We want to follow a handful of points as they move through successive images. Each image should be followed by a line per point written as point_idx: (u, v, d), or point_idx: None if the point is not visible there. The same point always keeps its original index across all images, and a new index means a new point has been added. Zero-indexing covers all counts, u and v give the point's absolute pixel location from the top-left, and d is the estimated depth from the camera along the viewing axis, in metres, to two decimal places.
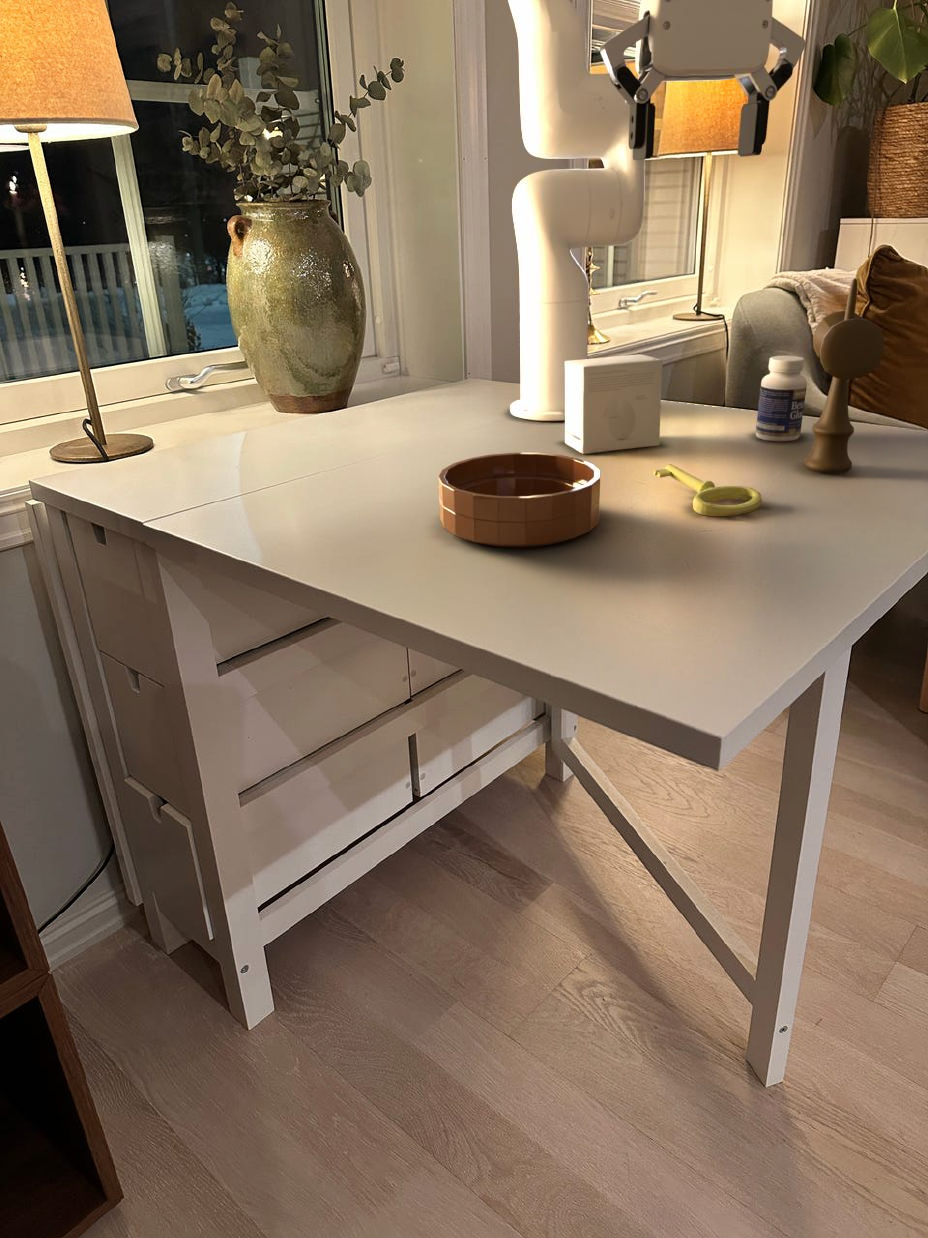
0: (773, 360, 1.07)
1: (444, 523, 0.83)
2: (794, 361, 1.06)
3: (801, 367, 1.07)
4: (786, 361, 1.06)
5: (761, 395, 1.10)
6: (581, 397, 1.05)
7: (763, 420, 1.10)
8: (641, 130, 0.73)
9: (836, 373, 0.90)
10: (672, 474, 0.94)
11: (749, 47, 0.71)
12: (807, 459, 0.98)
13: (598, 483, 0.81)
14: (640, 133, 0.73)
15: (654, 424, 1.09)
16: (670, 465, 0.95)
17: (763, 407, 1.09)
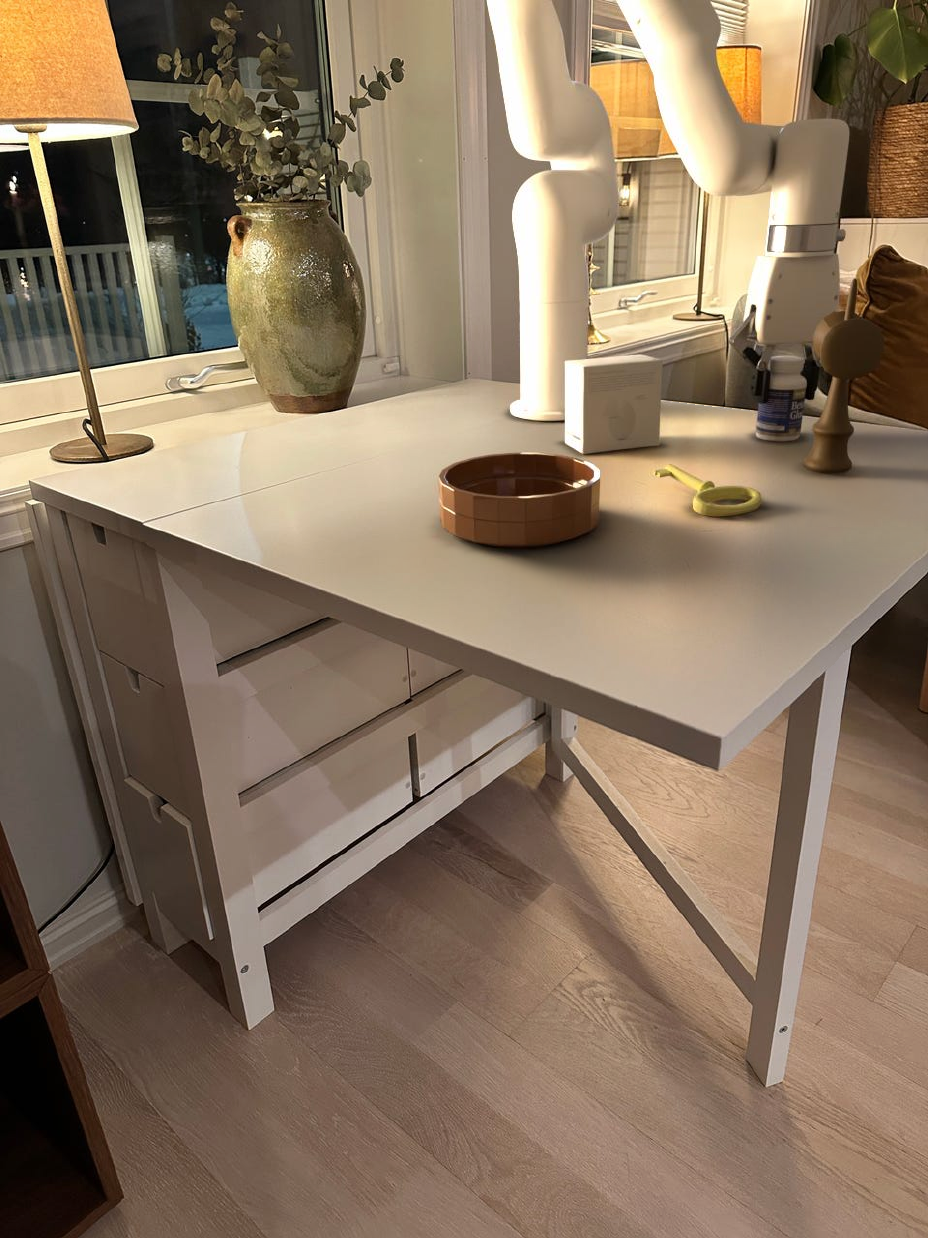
0: (773, 360, 1.07)
1: (444, 523, 0.83)
2: (794, 361, 1.06)
3: (801, 367, 1.07)
4: (786, 361, 1.06)
5: None
6: (581, 397, 1.05)
7: (763, 420, 1.10)
8: (760, 385, 1.08)
9: (836, 373, 0.90)
10: (672, 474, 0.94)
11: None
12: (807, 459, 0.98)
13: (598, 483, 0.81)
14: (759, 387, 1.08)
15: (654, 424, 1.09)
16: (670, 465, 0.95)
17: (763, 407, 1.09)
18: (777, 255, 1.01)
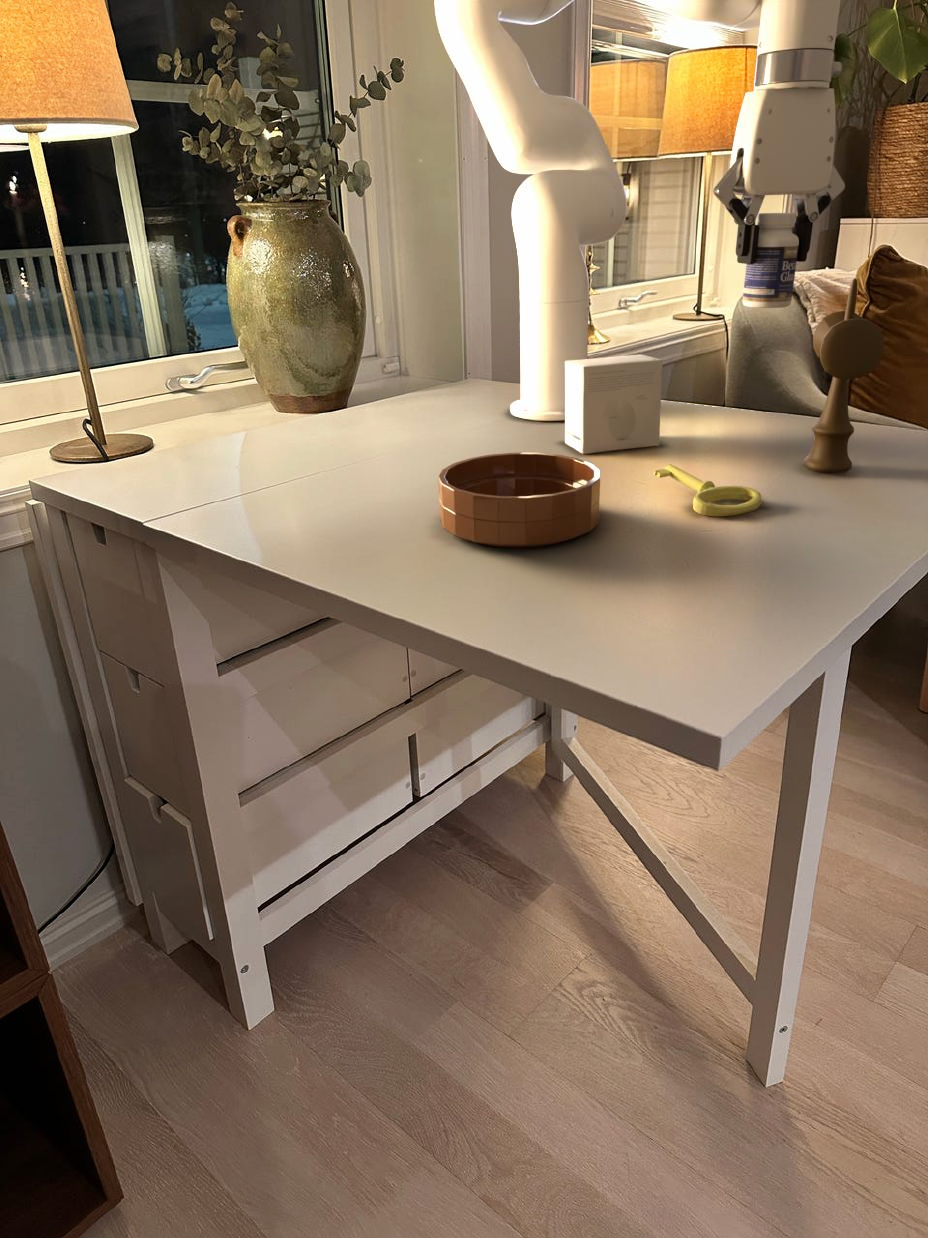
0: (762, 214, 0.97)
1: (444, 523, 0.83)
2: (785, 214, 0.96)
3: (793, 222, 0.97)
4: (776, 214, 0.96)
5: None
6: (581, 397, 1.05)
7: (751, 284, 1.00)
8: (747, 243, 0.98)
9: (836, 373, 0.90)
10: (672, 474, 0.94)
11: (816, 175, 0.95)
12: (807, 459, 0.98)
13: (598, 483, 0.81)
14: (746, 245, 0.98)
15: (654, 424, 1.09)
16: (670, 465, 0.95)
17: (751, 269, 0.99)
18: (767, 87, 0.91)
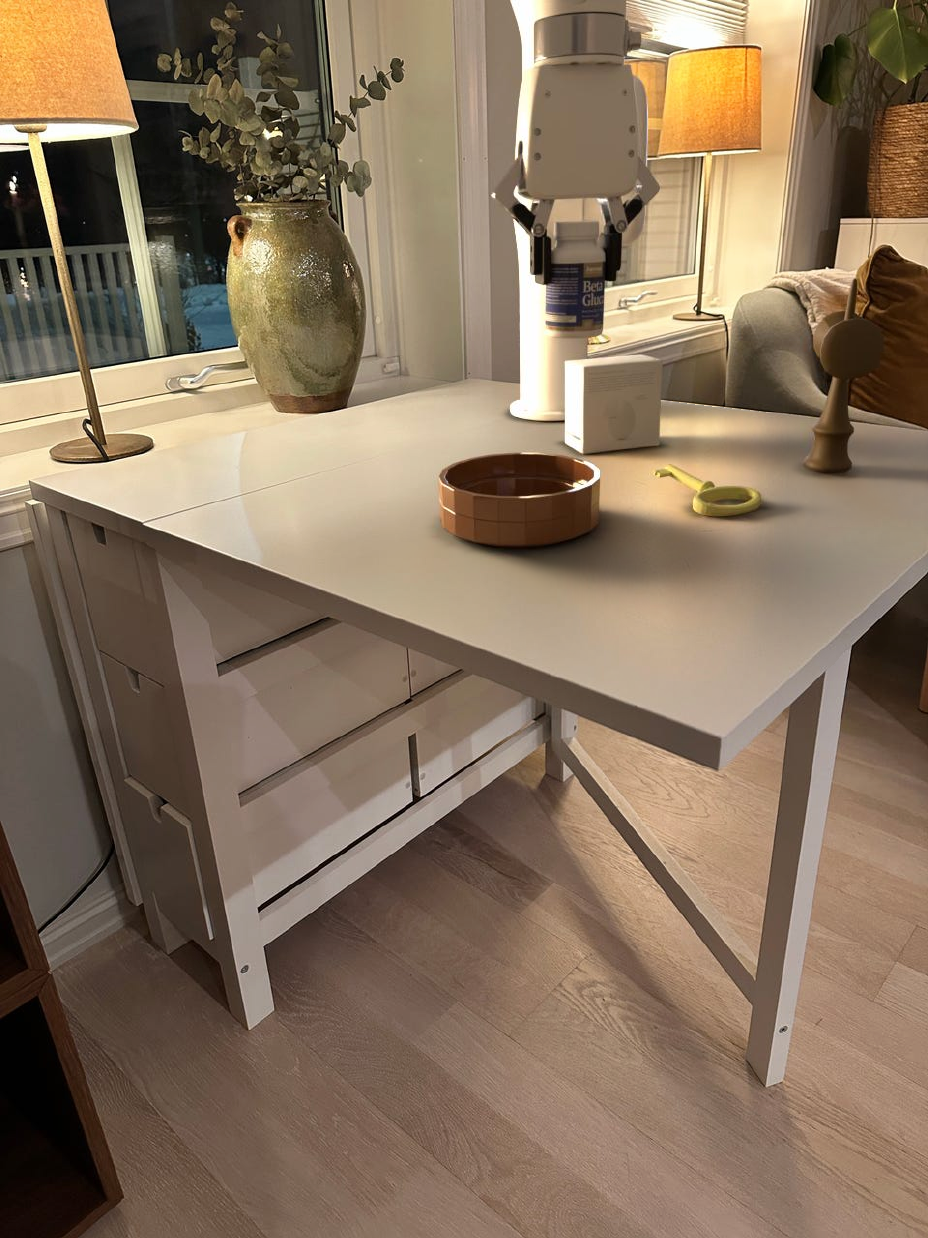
0: (556, 223, 0.78)
1: (444, 523, 0.83)
2: (582, 223, 0.77)
3: (594, 232, 0.78)
4: (571, 223, 0.77)
5: None
6: (581, 397, 1.05)
7: (550, 309, 0.81)
8: (539, 259, 0.79)
9: (836, 373, 0.90)
10: (672, 474, 0.94)
11: (617, 174, 0.76)
12: (807, 459, 0.98)
13: (598, 483, 0.81)
14: (538, 262, 0.79)
15: (654, 424, 1.09)
16: (670, 465, 0.95)
17: (549, 291, 0.80)
18: (543, 64, 0.72)
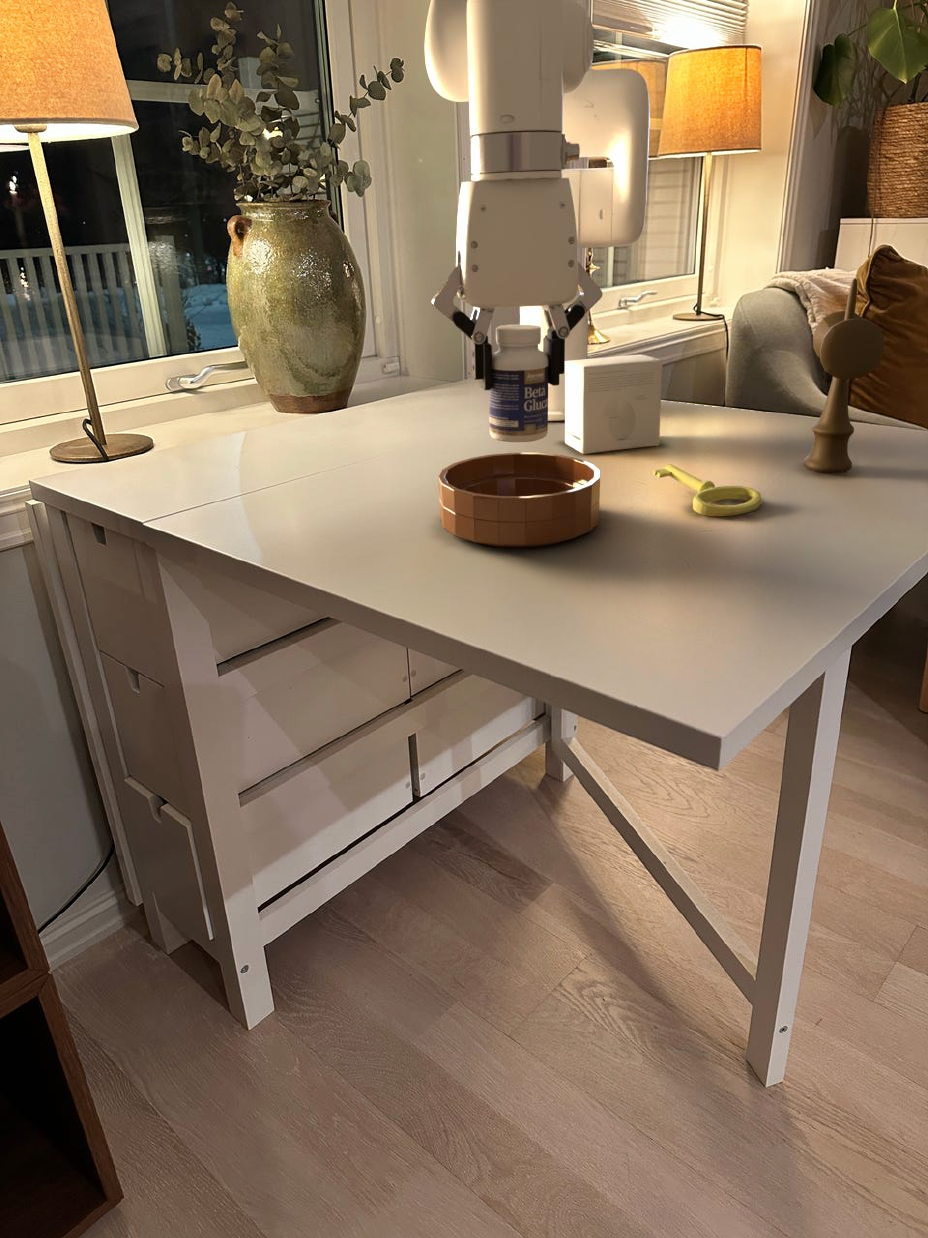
0: (497, 330, 0.77)
1: (444, 523, 0.83)
2: (522, 331, 0.76)
3: (535, 339, 0.77)
4: (512, 331, 0.76)
5: None
6: (581, 397, 1.05)
7: (492, 413, 0.80)
8: (481, 365, 0.78)
9: (836, 373, 0.90)
10: (672, 474, 0.94)
11: (557, 283, 0.75)
12: (807, 459, 0.98)
13: (598, 483, 0.81)
14: (480, 368, 0.78)
15: (654, 424, 1.09)
16: (670, 465, 0.95)
17: (491, 395, 0.80)
18: (478, 178, 0.71)
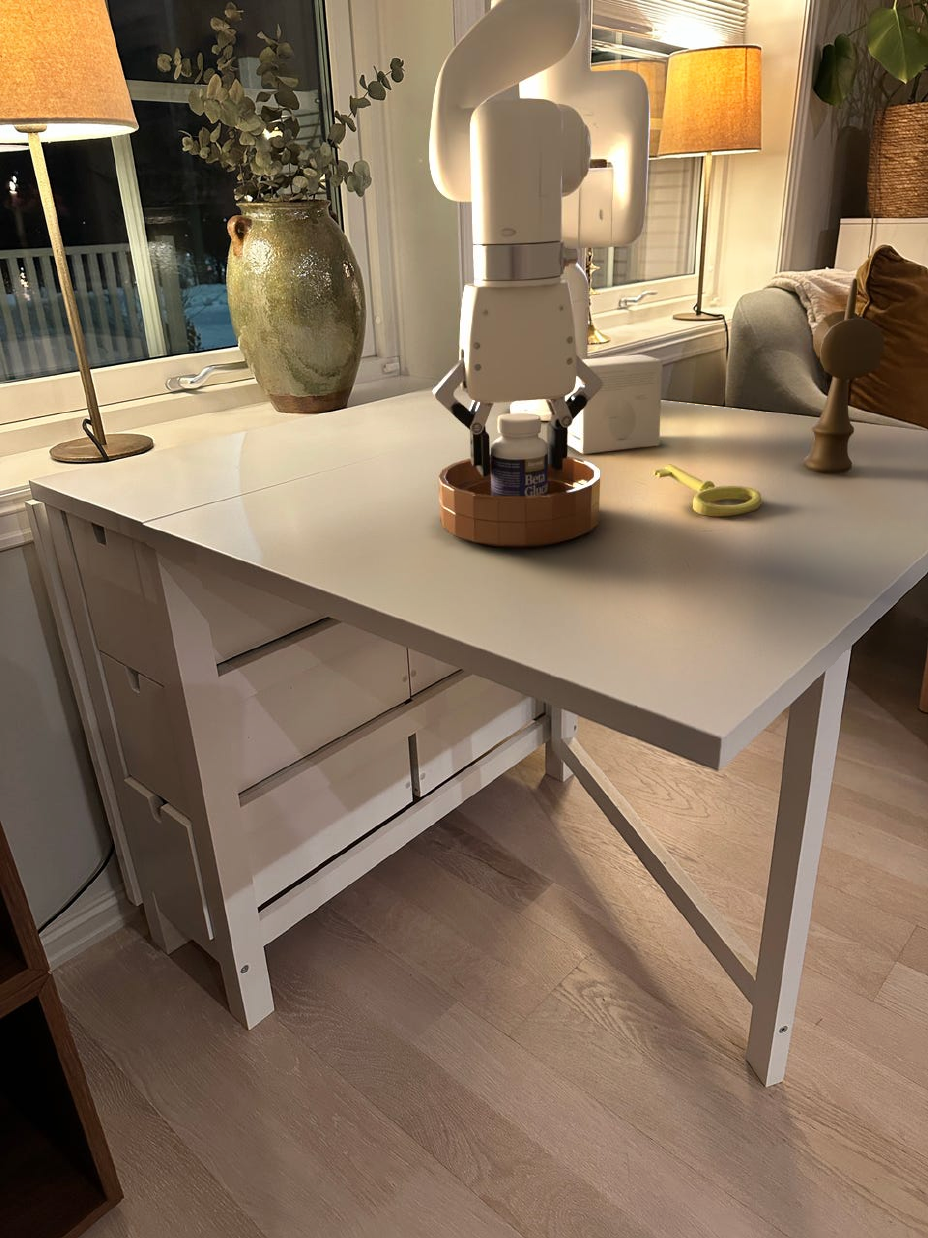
0: (499, 420, 0.81)
1: (444, 523, 0.83)
2: (523, 422, 0.80)
3: (535, 430, 0.81)
4: (513, 422, 0.80)
5: (491, 464, 0.83)
6: None
7: None
8: (479, 453, 0.81)
9: (836, 373, 0.90)
10: (672, 474, 0.94)
11: (556, 380, 0.78)
12: (807, 459, 0.98)
13: (598, 483, 0.81)
14: (478, 455, 0.81)
15: (654, 424, 1.09)
16: (670, 465, 0.95)
17: (493, 480, 0.83)
18: (481, 284, 0.75)
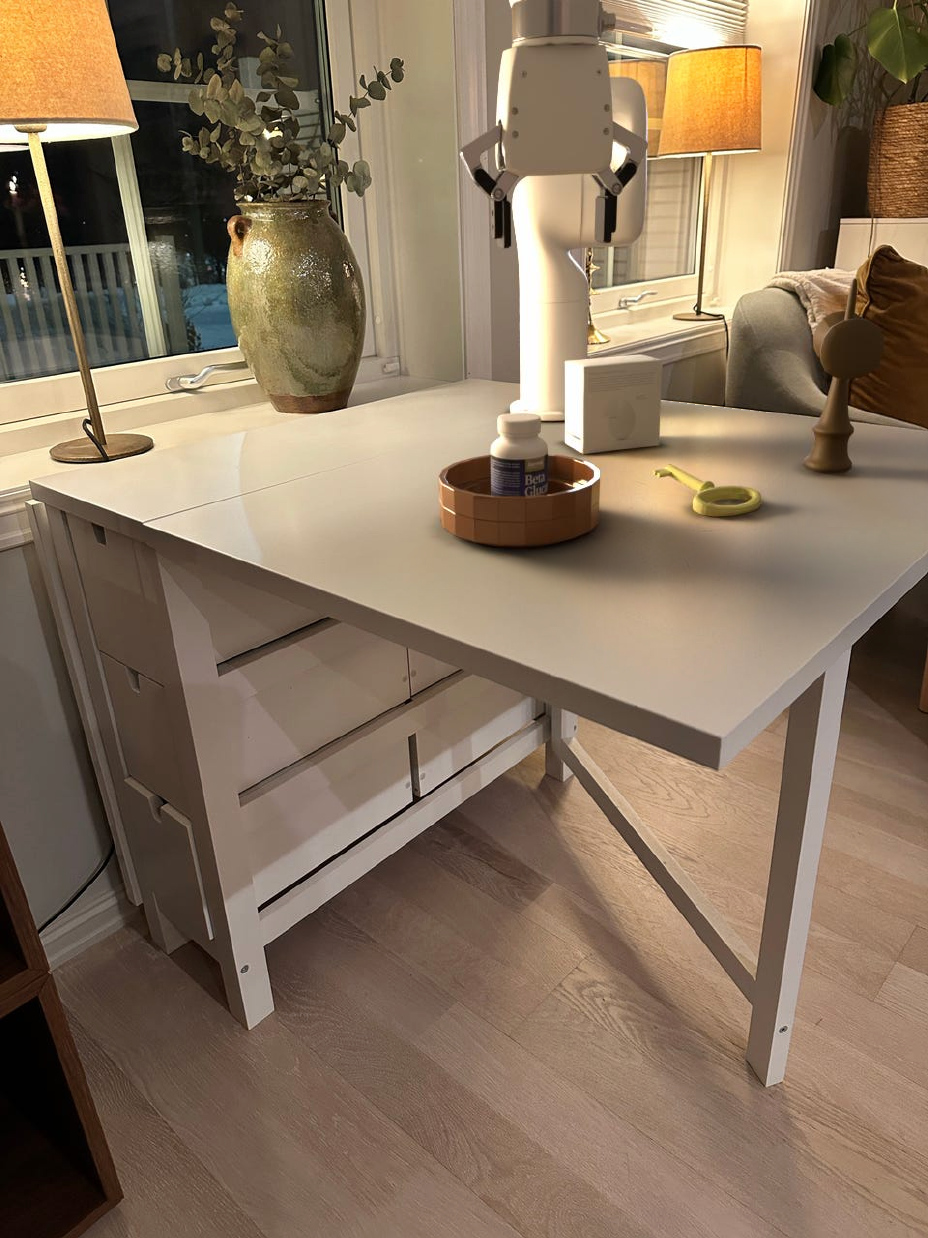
0: (499, 420, 0.81)
1: (444, 523, 0.83)
2: (523, 422, 0.80)
3: (535, 430, 0.81)
4: (513, 422, 0.80)
5: (491, 464, 0.83)
6: (581, 397, 1.05)
7: None
8: (500, 223, 0.81)
9: (836, 373, 0.90)
10: (672, 474, 0.94)
11: (592, 151, 0.79)
12: (807, 459, 0.98)
13: (598, 483, 0.81)
14: (499, 226, 0.82)
15: (654, 424, 1.09)
16: (670, 465, 0.95)
17: (493, 480, 0.83)
18: (520, 45, 0.75)
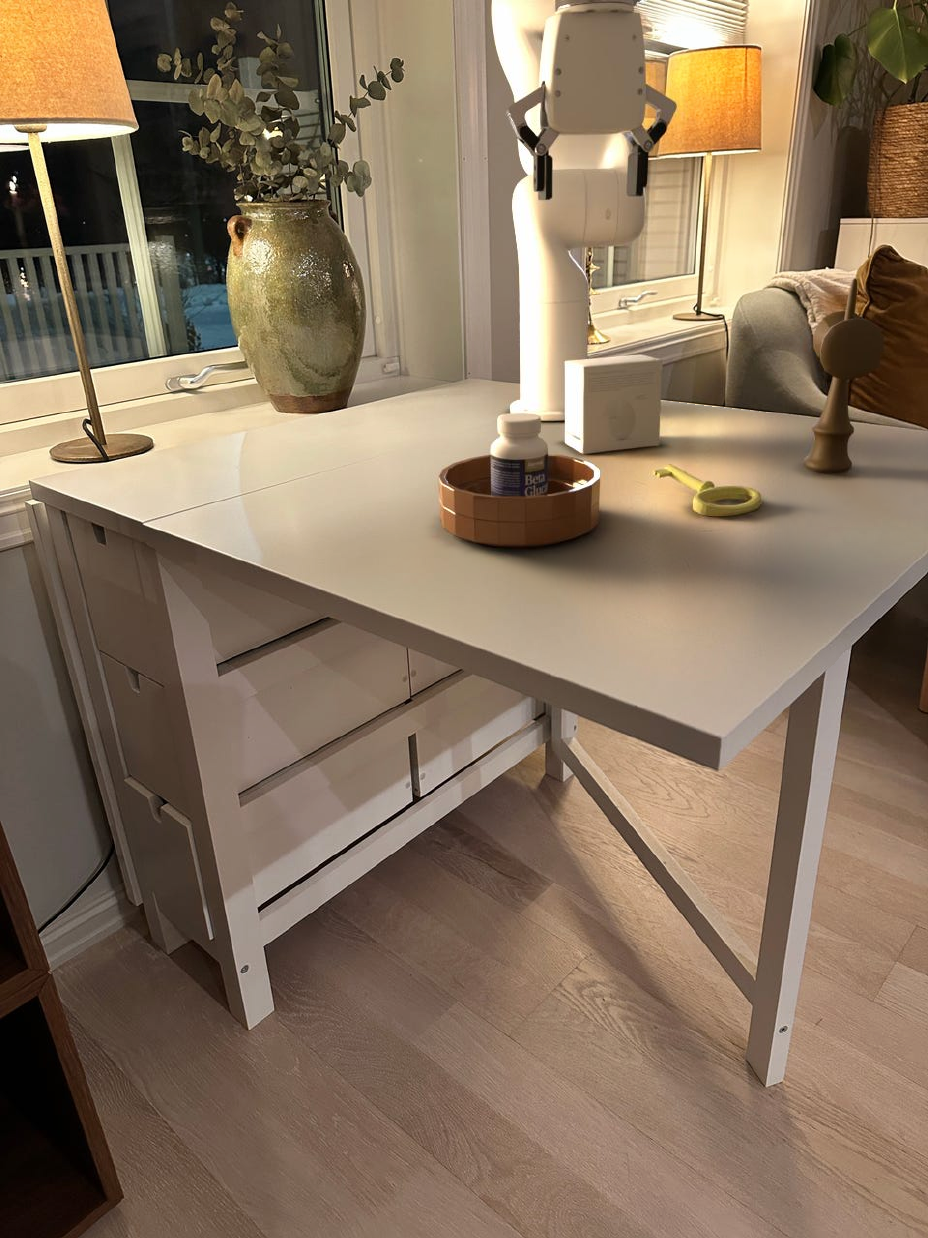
0: (499, 420, 0.81)
1: (444, 523, 0.83)
2: (523, 422, 0.80)
3: (535, 430, 0.81)
4: (513, 422, 0.80)
5: (491, 464, 0.83)
6: (581, 397, 1.05)
7: None
8: (542, 176, 0.89)
9: (836, 373, 0.90)
10: (672, 474, 0.94)
11: (627, 110, 0.87)
12: (807, 459, 0.98)
13: (598, 483, 0.81)
14: (541, 179, 0.89)
15: (654, 424, 1.09)
16: (670, 465, 0.95)
17: (493, 480, 0.83)
18: (563, 12, 0.83)
